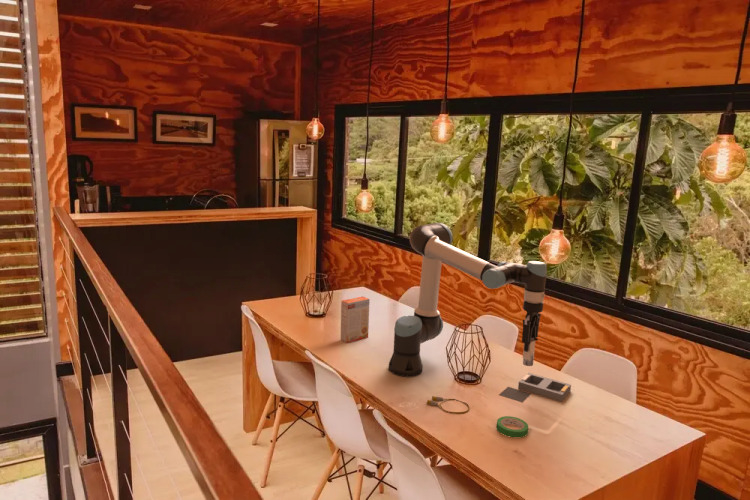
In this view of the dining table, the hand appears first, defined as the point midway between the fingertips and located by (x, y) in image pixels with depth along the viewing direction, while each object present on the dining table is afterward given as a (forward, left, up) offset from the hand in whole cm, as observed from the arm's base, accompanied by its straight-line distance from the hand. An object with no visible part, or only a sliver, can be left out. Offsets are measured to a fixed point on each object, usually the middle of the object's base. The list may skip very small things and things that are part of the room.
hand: (528, 357), depth 222 cm
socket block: (+10, -5, -17) cm, 20 cm away
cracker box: (+6, +91, -17) cm, 93 cm away
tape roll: (-28, -6, -18) cm, 34 cm away
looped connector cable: (-26, +20, -18) cm, 38 cm away
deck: (-2, +3, -17) cm, 18 cm away
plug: (0, 0, -3) cm, 3 cm away
